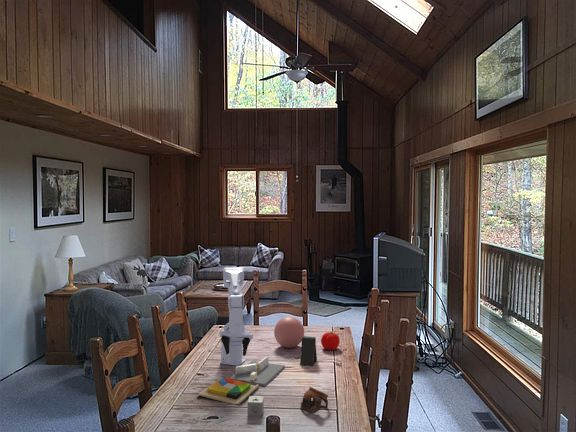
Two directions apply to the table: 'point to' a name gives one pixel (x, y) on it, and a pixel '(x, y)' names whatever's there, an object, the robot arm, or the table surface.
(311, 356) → the phone stand
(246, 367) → the hinge leaf
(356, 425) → the table surface
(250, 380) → the hinge base
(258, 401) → the dice cube
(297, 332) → the balloon
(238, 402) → the wooden puzzle
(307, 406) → the pottery mug
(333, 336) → the tomato
